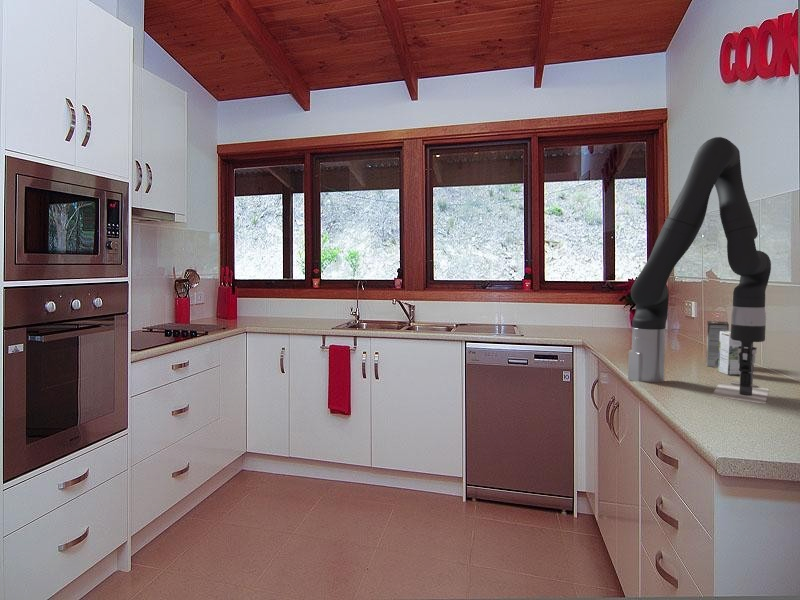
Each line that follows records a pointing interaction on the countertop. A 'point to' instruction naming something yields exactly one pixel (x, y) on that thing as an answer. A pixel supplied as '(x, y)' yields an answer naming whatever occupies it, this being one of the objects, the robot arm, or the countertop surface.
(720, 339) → the syrup box
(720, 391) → the clipboard
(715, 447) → the countertop surface
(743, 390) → the marker
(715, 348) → the coffee box
